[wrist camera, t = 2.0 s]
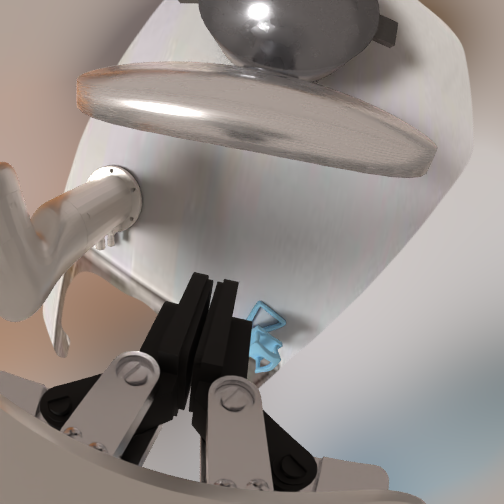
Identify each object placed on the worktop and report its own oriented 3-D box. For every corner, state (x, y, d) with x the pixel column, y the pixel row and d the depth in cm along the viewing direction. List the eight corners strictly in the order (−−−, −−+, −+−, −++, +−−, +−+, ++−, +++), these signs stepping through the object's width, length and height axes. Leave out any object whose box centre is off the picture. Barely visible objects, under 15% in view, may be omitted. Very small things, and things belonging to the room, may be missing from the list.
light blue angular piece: (231, 322, 57) (224, 364, 46) (260, 299, 54) (257, 342, 43) (258, 341, 59) (256, 384, 48) (286, 321, 56) (289, 364, 45)
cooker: (357, 107, 37) (386, 103, 26) (183, 70, 36) (156, 54, 25) (377, 3, 27) (405, -23, 17) (215, -32, 26) (201, -67, 15)
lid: (368, 98, 26) (360, 125, 28) (173, 57, 25) (169, 85, 27) (517, 209, 7) (476, 272, 9) (-13, 101, 6) (-4, 170, 8)
